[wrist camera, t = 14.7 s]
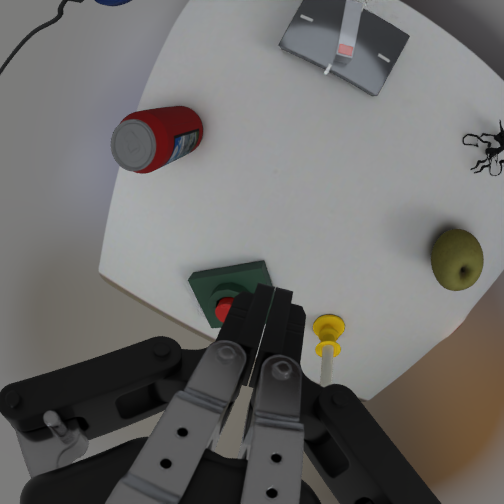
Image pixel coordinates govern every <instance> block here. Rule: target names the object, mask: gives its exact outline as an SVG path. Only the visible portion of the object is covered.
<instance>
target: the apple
mask: <svg viewBox="0 0 504 504" xmlns="http://www.w3.org/2000/svg"><path fill="white" fill-rule="evenodd" d="M483 260H484V259H483V251H482V248H481V246H480V244H479V242H478V240H477V239H476V238H475V237H474V236H473V235H472V234H471V233H469V232H467V231H465V230H462V229H452V230H448V231H446V232H445V233H443V234H442V235H441V236H440V237H439V238H438V239H437V241H436V242H435V244H434V247H433V249H432V253H431V265H432V270H433V273H434V275H435V277H436V279H437V281H438V282H439V283H440V284H441V285H442V286H443V287H444V288H446V289H448V290H452V291H460V290H464V289H467V288H469V287H470V286H472V285H473V284H474V283H475V282H476V281H477V280H478V278H479V276H480V274H481V272H482V268H483Z"/></svg>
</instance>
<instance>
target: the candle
mask: <svg viewBox="0 0 504 504" xmlns="http://www.w3.org/2000/svg"><path fill="white" fill-rule="evenodd" d="M344 329H345V324H344V321H343V320H342V319H341V318H340V317H338V316H335V315H323V316H321V317H319V318H317V319H316V320H315V322H314V324H313V331H314V333H315V334H316V335H317V336H318V337H319V339H320V341H321V343H319V344H318V345H317V346H316V348H315V351H316V354H317V355H318V356H320V357H322V364H321V379H320V386H322V387H326V386H328V385H331V384H332V374H333V357H336V356H337V355H338V354H339V353H340V351H341V347H340V345H339V344H338V343H336V340H337V339H338V337H339V336H340V335H342V333H343V332H344Z"/></svg>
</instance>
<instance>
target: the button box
mask: <svg viewBox="0 0 504 504" xmlns="http://www.w3.org/2000/svg"><path fill="white" fill-rule="evenodd" d="M188 281H189V283H190V285H191V288H192V290H193V292H194V294H195V296H196V298H197V300H198V302H199V304H200V306H201V308H202V310H203V312H204V314H205V316H206V318H207V320H208V322H209V324H210V326H211V328H221V327H222V325H223V322H221V321H220V320H219V319H218V318H217V317H216V314H215V309H216V307H217V305H218V303H219V301H220V300H221V299H222V298H225V297H233V298H234V297H235V296H236V295H238V294H239V293H240V292H242V291H246V292H250V293H253V294H254V293H255V290H256V287H257V284H258V282H259V283H263V284H266V285H270V286H272V283H271V280H270V277H269V274H268V271H267V268H266V265H265V262H264V261H258V262H252V263H247V264H241V265H235V266H229V267H223V268H217V269H211V270H205V271H199V272H193V273H192V275H191V276H190V278H189V279H188ZM274 294H275V292H273V296H272V300H271V303H270V307H269V311H270V308H271V304H272V301H273V297H274ZM269 311H268V314H267V318H268V315H269ZM267 318H266V322H267ZM266 322H265V324H266Z"/></svg>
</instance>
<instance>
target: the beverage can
mask: <svg viewBox="0 0 504 504" xmlns="http://www.w3.org/2000/svg"><path fill="white" fill-rule="evenodd" d="M202 135H203V126H202V122H201V120H200V118H199V116H198V115H197V114H196V113H195V112H194V111H193V110H192V109H190V108H188V107H184V106H173V107H164V108H156V109H150V110H143V111H138V112H134V113H131V114H129V115H128V116H126V117H125V118H124V119H123V120H122V121H121V123H120V124H119V125H118V126H117V127H116V129H115V130H114V132H113V135H112V139H111V151H112V154H113V157H114V159H115V161H116V162H117V163H118V164H119V165H120V166H121V167H122V168H124V169H125V170H128V171H133V172H136V173H142V174H143V173H150V172H152V171H154V170H156V169H158V168H160V167H162V166H165V165H167V164H169V163H171V162H173V161H175V160H177V159H179V158H181V157H183V156H185V155H187V154H188V153H190V152H192V151H193V150H195V149H196V148H197V146H198V145H199V143H200V142H201V139H202Z"/></svg>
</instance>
